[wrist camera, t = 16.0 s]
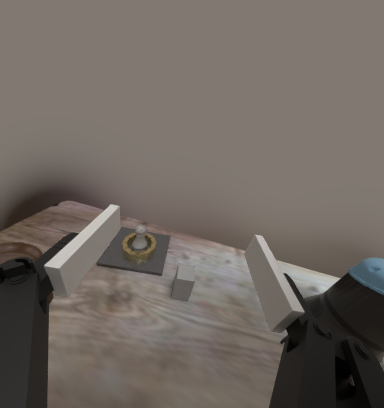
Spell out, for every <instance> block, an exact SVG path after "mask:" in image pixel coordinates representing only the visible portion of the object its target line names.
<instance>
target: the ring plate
mask: <svg viewBox="0 0 384 408" xmlns="http://www.w3.org/2000/svg"><path fill="white" fill-rule="evenodd" d="M135 233H136V232H135V229H130V228H124V227H122V228H121V229H120V231H119V232H118V233H117V235H116V236H115V238H114V239H113V240H112V242H111V243H110V245H109V246H108V248H107V249H106V250H105V252H104V253H103V255H102V256H101V257H100V259H99V260H98V262H97V265H98V266H104V267H110V268H116V269H122V270H128V271H135V272H141V273H147V274H153V275H159V276H162V272H163V267H164V262H165V258H166V253H167V249H168V244H169V240H170V236H167V235H162V234H156V233H151V232H145V233H146V234H145V240H146V241H147V248H146V249H145V250H144V251H142V252H136V251H134V250H133V249H132V243H133V241H134V240H135V238H136V234H135Z"/></svg>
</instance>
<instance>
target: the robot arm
mask: <svg viewBox="0 0 384 408" xmlns="http://www.w3.org/2000/svg"><path fill="white" fill-rule="evenodd" d="M119 230H120V206H116V205H110V206H109V207H108V208H107V209H106V210H105V211H104V212H102V213H101V214H100V215H99V216H98V217H97V218H96V219H95V220H94V221H93V222H91V223H90V224H89V225H88V226H87V227H86V228H85V229H84V230H83V231H82V232H80V233H74V232H73V233H71V234H69V235H67V236H65V237H63V238H62V239H61V240H60V241H59V242H58V243H56V244H55V245H54V246H53V247H52V248H50V249H49V250H48V251H47V252H45V253H44V254H43V255H42V256H41V257H39V258H38V259H37V260H36V261H35V262H33V261H32V259H30V258H29V257H18V258H13V259H10V260H8V261H6V262H4V263H2V264H0V408H47V386H48V328H49V297H48V296H49V295H50V293H51V292H52V291H53V290H54V293H55V295H56V296H62V297H68V298H69V296H70V295H71V294H72V292H73V291H74V290H75V288H76V287H77V286H78V284H79V283H80V282H81V280H82V279H83V278H84V277H85V275H86V274H87V273H88V271H89V270H90V269H91V267H92V266H93V265H94V263H95V262H96V261H97V259H98V258H99V257H100V255H101V254H102V253H103V251H104V250H105V249H106V247H107V246H108V245H109V243H110V242H111V241H112V239H113V238H114V237H115V235H116V234H117V233H118V232H119ZM244 255H245V258H246V261H247V264H248V267H249V270H250V273H251V276H252V279H253V282H254V285H255V288H256V290H257V293H258V296H259V299H260V302H261V305H262V308H263V311H264V314H265V317H266V320H267V323H268V326H269V329H270V331H272V332H278V333H282V332H283V331H284V330H285V329H286V330H287V332H288V335H287V336H286V337H285V338H284V339H282V340H281V342H280V343H281V344H283V343H284V342H285V344H284V348H283V352H282V356H281V360H280V365H279V369H278V373H277V377H276V381H275V385H274V389H273V393H272V398H271V402H270V406H269V408H384V372H383V370H382V368H381V365H380V363H381V361H382V359H383V357H384V259H380V258H367V259H364V260H362V261H361V262H360V263H358V264H357V265H356V266H354V267H351V268H350V269H349V272H348V273H347V274H346V275H344V276H343V277H342V278H341V279H340V280H338V281H337V282H336V283H335V284H334V285H333V286H331V287H330V288H329V289H328V290H327V291H326V292H324V293H323V294H319V295H315V296H311V297H307V298H305V299H303V297H302V295H301V294H300V292H299V290H298V288H296V285H295V283H294V282H293V280H292V279H291V278H290V277H289V276H288V275H287V274H286V273H283V272H282V270H281V269H280V267H279V265H278V263H277V261H276V260H275V258H274V256H273V254H272V252H271V251H270V249H269V247H268V245H267V243H266V242H265V240H264V239H263V237H262V236H259V235H255V236H254V238H253V239H252V241H251V243H250V245H249V247H248V248H247V250H246V252H245V254H244ZM351 378H353V381H354V384H355V386H354V385H353V383H352V379H351Z"/></svg>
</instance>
